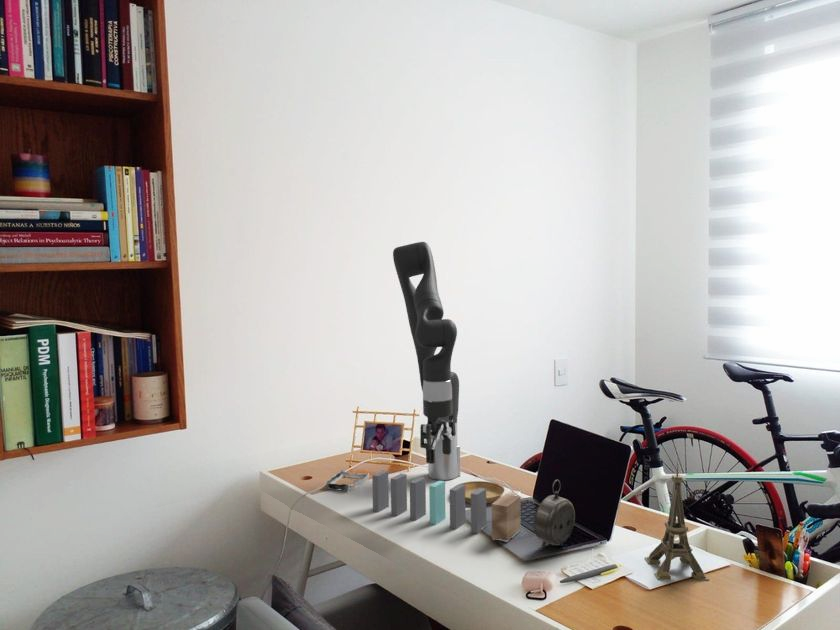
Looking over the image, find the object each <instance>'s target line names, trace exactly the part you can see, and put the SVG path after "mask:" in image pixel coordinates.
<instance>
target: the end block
mask: <svg viewBox="0 0 840 630" xmlns="http://www.w3.org/2000/svg"><path fill="white" fill-rule="evenodd" d="M521 499H522V498H521V496H520V495H513V494H509V493H506V494H503V495H502V496H501V497H500V498H499V499H497V500H496V501H494V502H492V503H491V540H492V541H495V539H502V540H509V539H510V538H511V537H512V536H513V535H514V534H515V533H516V532H517V531H518V530H519V529H520V528H521V524H522V523H521V522H522V521H521V511H522V510H521V509H522V508H521V505H522V504H521ZM521 529H522V528H521Z"/></svg>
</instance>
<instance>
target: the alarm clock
mask: <svg viewBox="0 0 840 630" xmlns="http://www.w3.org/2000/svg"><path fill="white" fill-rule="evenodd" d="M556 482H558V484H559V487H558V491H557V490H556V491H555V490H554V489H555V488H554V487H555V484H556ZM561 485H562V484H561V480H559V479H555V480H554V481H553V483H552V487H551V488H552V493H553V494H550V495H548V496H546V497H545V498H544V499H543V500H542V501H541V503H540V504H539V506H538V508H537V510H536V512H535V516H534V521H533V522H534V527H533V528H534V533H535V535H536V537H537V539H538V540H540V541H542V544H541V547H540V549H541V548H543V549H544V547H545V546H546V544H550V545H552V546H562V545H563V546H564V543H565V542H566V541H567V540H568V539H569V537H570V536H571V534H572V531H573V529H574V525H575V521H576V511H575V508H574V505H573V503H572V502H571V501H570V500H569V499H567V498H564V497H561V496H559V492H560V490H561V488H562V487H561Z"/></svg>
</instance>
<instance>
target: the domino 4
mask: <svg viewBox="0 0 840 630" xmlns="http://www.w3.org/2000/svg"><path fill="white" fill-rule="evenodd" d="M428 489H429V491H428V492H429V493H428V494H429V498H428V499H429V524H430V525H438V524H439V523H441V522H442V521H444V520H445V519H446V480H438V481H436V482H434V483H432V484H430V485H429V486H428Z"/></svg>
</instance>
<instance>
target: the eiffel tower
mask: <svg viewBox="0 0 840 630" xmlns="http://www.w3.org/2000/svg"><path fill="white" fill-rule="evenodd" d="M676 459H677V462H676V473H675V474H672V475H671V476H672V477H670V480H671V481H672V482H673V485H672V493H671V501H670V506H669V507H670V508H669V512H668V513H669V514H668V519H667V521H666V520H665V522H664V526H665V528H666V529H665V531H664V535H663V537H662V539H661V538H660V542H661V543H659V544H658V545H657V546H656V547H655V548H654V549H653V550H652V551H651V552H650V553H649V555H648V556H647V557H646V556H644V560H645V561H646V563H647V564H649V565H652V564H653V565H655V564H656V565H657V564H658V565H659V564H660V565H659V567H658V569H657V571H656V572H654V573H653V574H654V576H655V578H656V579H657V580H658V581H672V577H671V575H670V572H671V571H670V570H671V565H672V561H673V560H674V559H676V558H679V559H680V561H681V563H682V564H684V565H689V567H690V569H691V570H692V571H691V576H692V578H693V579H694V580H695V581H710V579H709V577H708V576H707V575H706V574H705V573H704V571H703V569H702V568H701V566H700V564H699V561H697V559H696V557H695V556H694V554H693V553H692V551H693V548H692V547H691V546H690V542H689V540H688V534H687V532H688V531H689V527H688V526H687V525H686V523H685V514H684V513H685V512H684V506H683V494H682V483H684V482H685V481H684V479H683V478H684V477H683V476H682V475H681V474H679V463H678V462H679V457H678V456H677V458H676ZM675 536H678V539H675ZM663 556H665V558H664V560H663V561H661V559H662V557H663ZM661 562H662V563H661Z"/></svg>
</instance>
